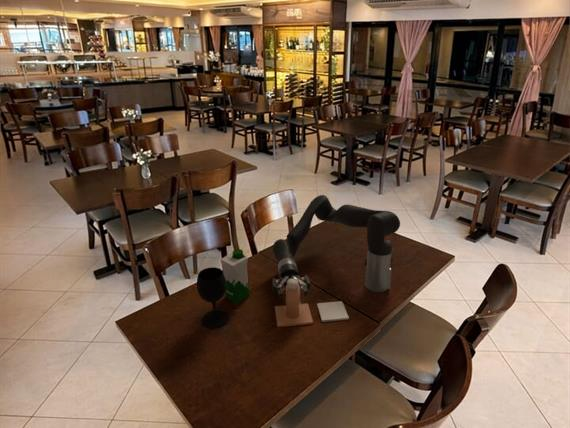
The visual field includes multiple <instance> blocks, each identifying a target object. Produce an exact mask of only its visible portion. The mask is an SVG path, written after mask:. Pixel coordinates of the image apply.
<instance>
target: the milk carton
mask: <svg viewBox="0 0 570 428" xmlns="http://www.w3.org/2000/svg"><path fill="white" fill-rule="evenodd" d="M248 260H249V257H247V256H246V255H245V254H244V250H242V249H239V248H236V249H234V250H232V253H230V254H227V255H225V256H224V257H222V258H220V263H221V267H222V271H223V273H224V276H225V279H226V292H225V294H224V297H225V298H227V299H228V300H230V301H231V302H232V303H233V304H234V303H235V304H238V303H241V301H243V300H245V299H247V298H249V297H250V289H249V288H250V287H249V282H248V280H249V279H248Z"/></svg>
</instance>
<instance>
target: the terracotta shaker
mask: <svg viewBox="0 0 570 428" xmlns="http://www.w3.org/2000/svg"><path fill="white" fill-rule="evenodd" d="M300 304H301V289H300V286H299V284H298V280H297V279H289V280H288V281H287V285H286V289H285V305H286V315H287V316H288V317H289V318H297V317H299V316H300Z"/></svg>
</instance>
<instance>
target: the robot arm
mask: <svg viewBox="0 0 570 428" xmlns="http://www.w3.org/2000/svg"><path fill="white" fill-rule="evenodd" d="M314 216H315V217H316V218H317V220H319V221H323V222H331V223H337V224H340V225H344V226H348V227H349V228H350V227H351V228H366V242H367V255H368V257H367V256H366V257H367V260H366V272H365V288H366V289H367V290H368V291H370V292H372V293H384V292H386V291H387V290H391V281H392V280H391V278H392V268H391V262H392V254H393V253H392V248H393V245H392V243H391V242H388V241H387V240H386V239H385V237H386V236H389V235H392V234H395V233H396V232H397V231H398V230H399V229H400V227H401V220H400V218H399V216H397V214H396V213H394V212H393V211H389V210H375V209H370V208H366V207H361V206H356V205H352V204H343V205H341V206H340V207H338V208H337V209H335V208H334V207H333V205H332V203H331V201H330V200H329V198H328V196H326V195H324V194H320V195H317V196H316V197H315V198H313V199H312V200H311V201H310V203H309V204H308V206H307V207H306V209H305V211H304V212H303V214H302V216H301V217H300V219H299V221H297V223H296V224H295V225H294V227H292V229H291V230H290V231H289V232H288V233H287V235H286V240H285V239H284V238H280V239H277V240H276V241H274V243H273V245H272V251H273V253H274V256H275V259H276V261H277V262H276V263H277V266H278V267H277V271H278V275H279V278H278V279H276V278H275V277H273V278H272V280H271V281H272V292H273V293H278V297H279V298H281V299H283V298H284V293H283V291H286V285H287V281H288V280H289V279H297V280H298V285H299V286H300V290H302V294H303V296H304V297H306V296H307V295H308V290H311V281H310V278H309V276H308V275H307V274H305V275H304V276H303V277H301V276H300V274H299V270H298V266H297V264H296V262H295V258H294V257H295V256H296V254H297V252H298V249H299V247H300V245H301V244H302V242H303V241H304V240H305V238H306V237H307V236H308V234H309V233H310V230H311V225H312V222H313V219H314ZM391 253H392V254H391Z"/></svg>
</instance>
